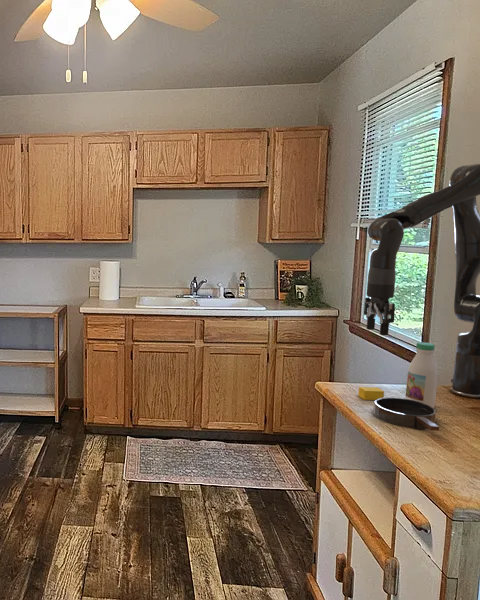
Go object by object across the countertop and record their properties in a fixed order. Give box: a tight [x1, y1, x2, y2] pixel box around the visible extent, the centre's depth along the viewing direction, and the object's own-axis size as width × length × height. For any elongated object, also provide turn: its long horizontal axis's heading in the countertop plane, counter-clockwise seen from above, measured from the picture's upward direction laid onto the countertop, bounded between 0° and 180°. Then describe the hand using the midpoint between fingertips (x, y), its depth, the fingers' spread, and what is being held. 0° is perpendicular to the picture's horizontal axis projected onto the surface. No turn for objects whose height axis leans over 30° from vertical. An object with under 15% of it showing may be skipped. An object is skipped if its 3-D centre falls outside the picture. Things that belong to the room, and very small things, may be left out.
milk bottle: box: [404, 341, 439, 409], centre depth 154 cm, size 8×8×20 cm
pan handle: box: [414, 416, 440, 432], centre depth 135 cm, size 7×2×3 cm, turn 175°
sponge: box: [357, 386, 385, 401], centre depth 163 cm, size 6×4×3 cm, turn 85°
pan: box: [372, 396, 437, 429], centre depth 146 cm, size 15×15×4 cm
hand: (376, 332), depth 160 cm, fingers open, 8 cm apart
